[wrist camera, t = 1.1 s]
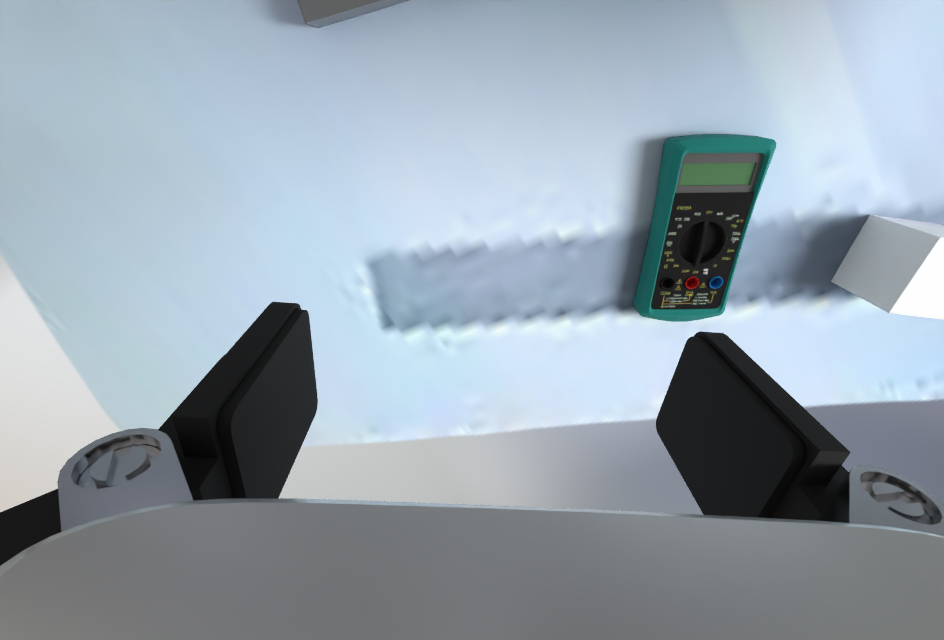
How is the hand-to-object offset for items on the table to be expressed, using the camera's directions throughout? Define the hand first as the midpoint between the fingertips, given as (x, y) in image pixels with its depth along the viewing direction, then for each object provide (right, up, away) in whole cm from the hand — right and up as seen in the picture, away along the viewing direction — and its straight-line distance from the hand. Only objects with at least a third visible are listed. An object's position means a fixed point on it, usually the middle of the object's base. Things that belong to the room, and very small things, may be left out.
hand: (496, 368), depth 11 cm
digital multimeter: (+17, +9, +25) cm, 32 cm away
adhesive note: (+34, +7, +26) cm, 44 cm away
